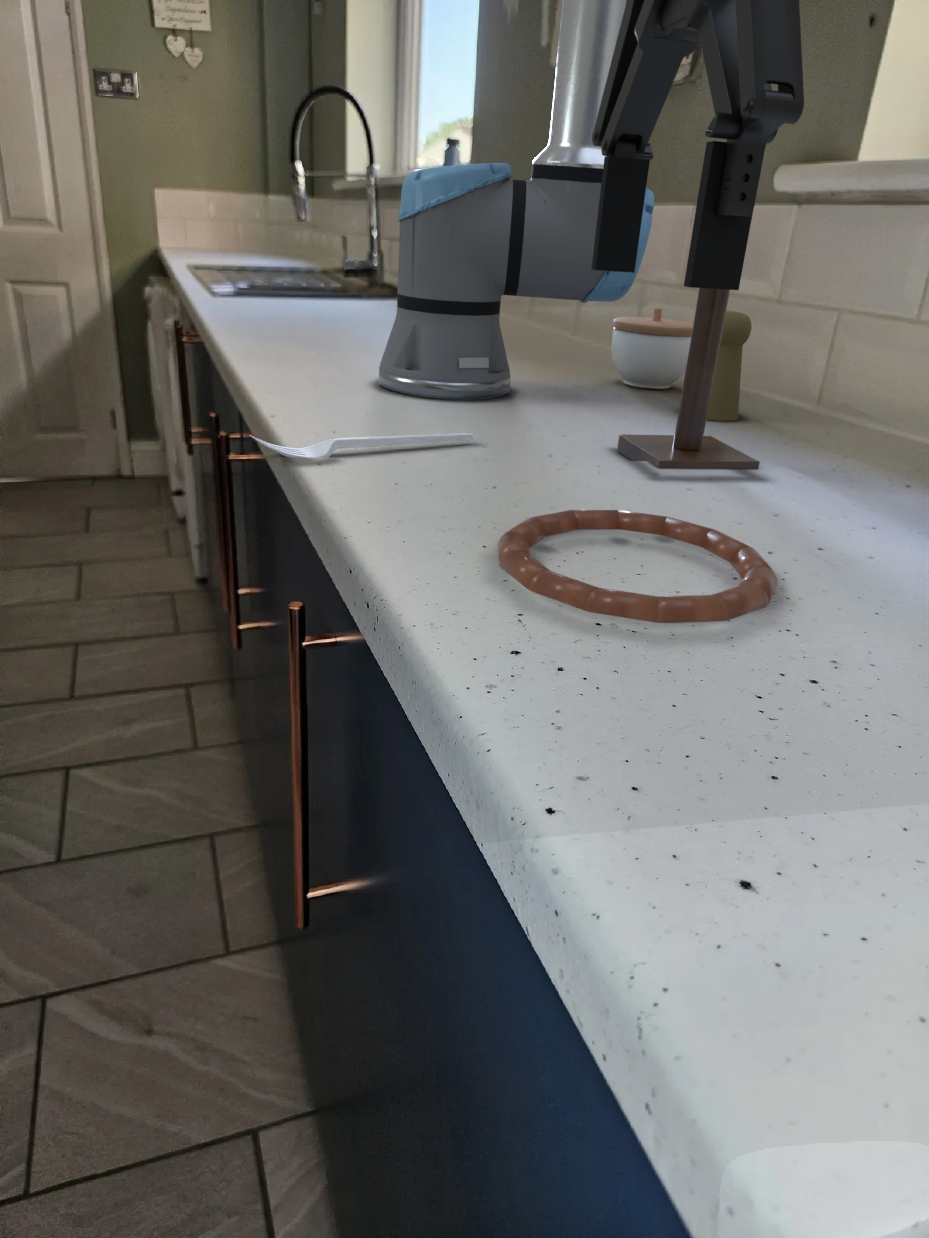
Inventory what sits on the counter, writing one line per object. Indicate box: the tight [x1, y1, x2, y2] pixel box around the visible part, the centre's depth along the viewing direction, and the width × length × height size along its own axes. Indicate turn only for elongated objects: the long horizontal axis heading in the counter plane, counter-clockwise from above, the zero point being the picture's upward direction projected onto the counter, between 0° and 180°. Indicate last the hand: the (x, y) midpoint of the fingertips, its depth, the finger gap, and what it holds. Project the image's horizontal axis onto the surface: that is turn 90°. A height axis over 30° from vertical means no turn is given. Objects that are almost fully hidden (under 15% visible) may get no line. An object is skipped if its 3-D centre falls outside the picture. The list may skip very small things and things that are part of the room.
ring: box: [497, 509, 778, 624], centre depth 50 cm, size 16×16×2 cm
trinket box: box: [611, 307, 694, 390], centre depth 111 cm, size 11×11×9 cm
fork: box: [249, 432, 474, 459], centre depth 72 cm, size 3×20×2 cm, turn 122°
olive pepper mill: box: [706, 309, 753, 422], centre depth 95 cm, size 6×6×11 cm
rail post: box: [616, 288, 761, 470], centre depth 73 cm, size 9×9×16 cm
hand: (656, 279), depth 50 cm, fingers open, 13 cm apart
